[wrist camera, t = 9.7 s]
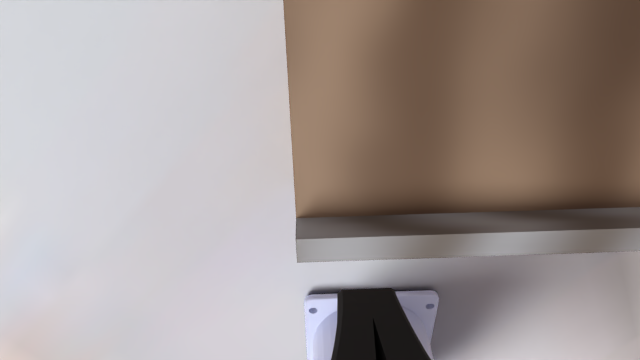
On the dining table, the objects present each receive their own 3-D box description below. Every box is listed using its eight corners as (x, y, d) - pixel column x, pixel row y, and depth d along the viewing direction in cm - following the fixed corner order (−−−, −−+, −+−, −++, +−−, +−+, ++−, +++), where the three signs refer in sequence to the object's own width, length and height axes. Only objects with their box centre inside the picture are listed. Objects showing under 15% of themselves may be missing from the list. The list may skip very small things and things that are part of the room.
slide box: (298, 187, 21) (297, 262, 17) (281, -138, 14) (271, -157, 10) (732, 173, 22) (843, 244, 17) (929, -150, 14) (1205, -173, 10)
